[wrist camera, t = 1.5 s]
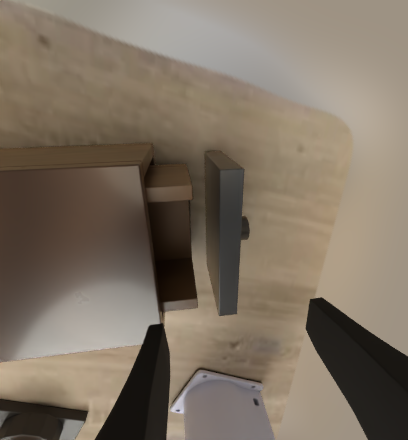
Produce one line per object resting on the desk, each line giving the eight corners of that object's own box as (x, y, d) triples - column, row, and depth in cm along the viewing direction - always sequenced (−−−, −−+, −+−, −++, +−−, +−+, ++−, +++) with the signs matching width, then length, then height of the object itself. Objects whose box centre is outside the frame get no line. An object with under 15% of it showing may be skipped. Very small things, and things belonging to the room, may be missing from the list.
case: (153, 142, 16) (139, 164, 10) (166, 266, 21) (163, 342, 14) (-28, 149, 15) (-193, 179, 8) (27, 279, 20) (-50, 369, 13)
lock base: (89, 408, 28) (80, 440, 25) (74, 436, 30) (64, 468, 27) (-6, 395, 25) (-28, 429, 22) (-16, 426, 27) (-38, 461, 24)
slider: (238, 150, 16) (269, 167, 11) (233, 261, 20) (255, 312, 15) (62, 157, 15) (5, 180, 10) (94, 274, 19) (65, 334, 14)
